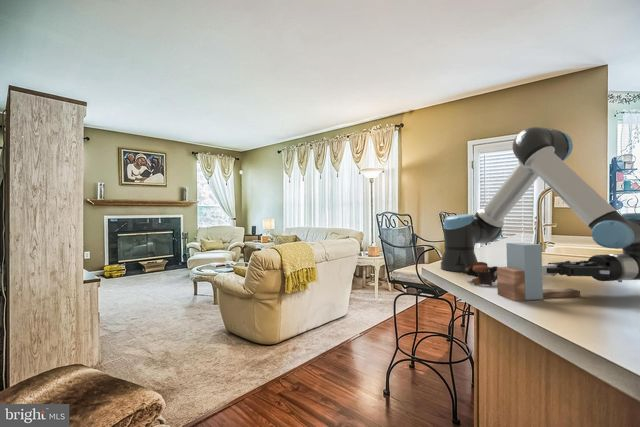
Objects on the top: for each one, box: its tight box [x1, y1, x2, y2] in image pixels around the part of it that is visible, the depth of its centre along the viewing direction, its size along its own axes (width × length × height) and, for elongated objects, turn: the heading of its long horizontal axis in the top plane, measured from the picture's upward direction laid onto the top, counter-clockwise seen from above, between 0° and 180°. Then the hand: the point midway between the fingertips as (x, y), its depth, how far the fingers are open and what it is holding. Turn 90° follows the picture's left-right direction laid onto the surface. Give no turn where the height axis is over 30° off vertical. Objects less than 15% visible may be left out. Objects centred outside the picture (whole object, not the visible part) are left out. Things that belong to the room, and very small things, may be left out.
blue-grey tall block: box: [505, 242, 544, 301], centre depth 86 cm, size 5×7×15 cm
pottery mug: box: [463, 261, 498, 286], centre depth 104 cm, size 12×10×8 cm
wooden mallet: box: [496, 266, 581, 302], centre depth 86 cm, size 21×7×8 cm, turn 94°
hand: (533, 270), depth 86 cm, fingers closed
